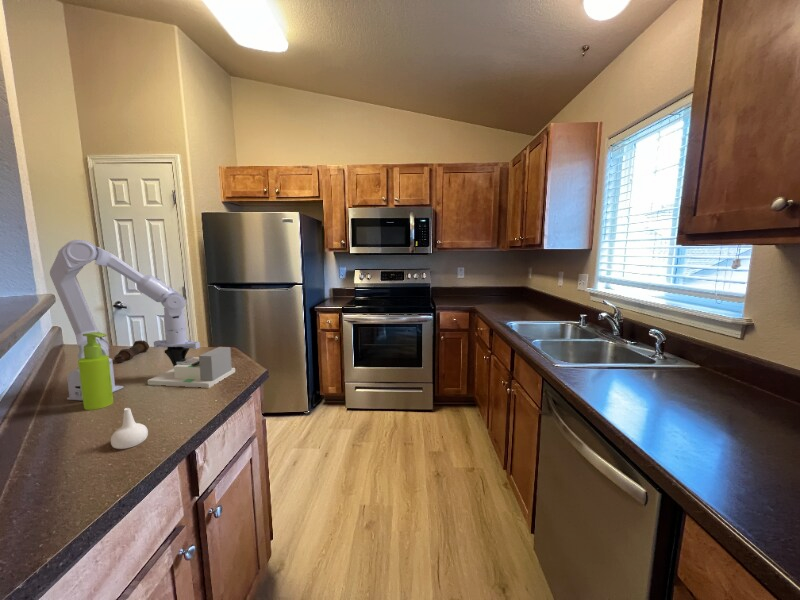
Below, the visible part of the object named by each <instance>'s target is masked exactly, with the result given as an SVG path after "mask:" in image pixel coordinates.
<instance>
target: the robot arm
mask: <svg viewBox="0 0 800 600" xmlns="http://www.w3.org/2000/svg"><path fill="white" fill-rule="evenodd" d="M93 261H95V262H94V265H98V266H103V267H108V268H110V269H111V270H114V272H117V273H119V274H120V275H122V276H123V277H125V278H127V279H128V280H130V281H132V282H133V283H134V284H136V290H137V291H139V292H140V293H141V294H144V295H145V296H146V297H148V298H150V299H151V300H153V301H155V302H156V303H160V304H161V305H162V306H163V313H164V315H163V323H164V335H165V336H164V337H165V340H164V339H163V340H161V339H160V340H159V339H157V340H155V341H153V348H155V349H156V348H167V349H164V354H165V355H166V356H167V357H168V358H169V360H170V362H171V364H172V366H173V367H174V366H176V365H177V361H179V360H182V359H184V358H186V357H187V354H188V352H189V350H190V349H193V350H198V349H201V343H200V341H193V340H189V339H188V335H187V325H186V324H187V323H186V313H185V307H186V304H187V301H186V300H185V297H184V296H183V295H182V294H180V293H179V292H178V291H176V288H174V287H173V286H171V287H170V286H169V285H167V284H165V283H164V282H163V281H161V280H162V279H161V278H160V277H159V276H154V275H152V274H151V275H144V274H142V273H141V272H140V271H138V270H136V269H135V268H133V267H132V266H131V265H129V264H128V263H126V262H125V261H124V260H122V259H121V258H119V257H117V255H115V254H113V253H112V252H110V251H107V250H105V249H103V248H101V247H99V246H96V245H95V244H94V243H92V242H90V241H88V240H83V239H73V240H70V241H68V242H67V243H65V244H64V246H62V247H60V249H59V250H58V251H57V255H56V256H55V259H54V262H53V264H52V265H51V267H50V270H49V275H50V279H51V280H52V284H53V285H54V288H55V291H56V293H57V295H58V297H59V300H60V302H61V305H62V306H63V309H64V312H65V314H66V317H67V319H68V321H69V322H70V326H71V329H72V331H73V333H74V335H75V339H76V345H77V347H78V354H77V359H78V360H80V359H82V358H85V356H84V348H83V347H84V346H86V345H87V344H88V343H87V336H83V334H85V333H90V332H99V333H100V331H99V329H98V327H97V325H96V323H95V320H94V317H93V316H92V313H91V310H90V308H89V305H88V303H87V301H86V298H85V296H84V293H83V290H82V288H81V285H80V283H79V280H78V278H77V275H78V274H79V273H80V271H81V270H83V268H84V267H85V266H86V265H87V264H89V263H91V262H93ZM96 343H98V344H101V350H102V355H107V356H110V352H109V351H110V343H109V342H108V341H107V340H106V339H105V338H104V337H100V338H97V337H96ZM113 363H114V362H113V358H111V357H109V365H110V374H111V383H112V392H113V393H114V392H117V391H119V390H121V389H123V388H124V386H123V385H116V383H115V374H114V372H115V371H114V364H113ZM77 365H78V366H77V368H75V369H74V370H72V371H71V372H69V373H68V375H67V378H66V379H67V389H68V396H69V397H66V399H67V400H69V401H83V396H82V388H81V380H80V371H79V363H78V364H77Z"/></svg>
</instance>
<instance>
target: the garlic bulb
mask: <svg viewBox="0 0 800 600" xmlns="http://www.w3.org/2000/svg"><path fill="white" fill-rule="evenodd" d="M148 436H149V429H148V428H147V426H146V425H144V424H143V423H138V422H136V421H135V418H134V416H133V413H132V410H131V408H130V407H125V408H124V409H123V419H122V425H121V426H119V428H117V429H116V430H115V431H114V432H113V433H112V434H111V437H110V445H111V446H112V448H114V449H116V450H124V449H126V450H127V449H130V448H134V447H136V446H138V445H141V444H142V443H143V442H144V441H145V440H146V439H147V438H148Z"/></svg>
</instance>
